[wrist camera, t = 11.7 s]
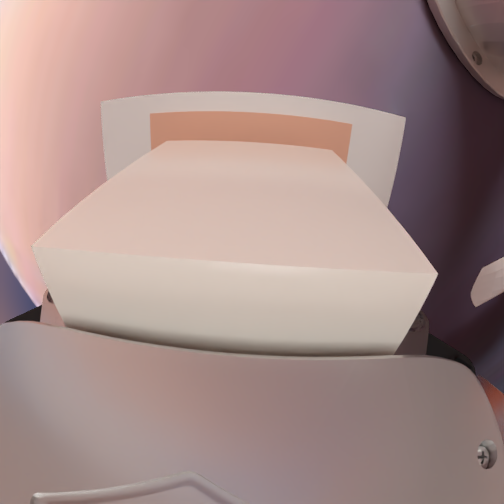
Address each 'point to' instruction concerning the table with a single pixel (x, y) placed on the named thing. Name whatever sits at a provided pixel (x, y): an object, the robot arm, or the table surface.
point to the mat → (255, 128)
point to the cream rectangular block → (237, 255)
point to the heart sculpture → (488, 283)
